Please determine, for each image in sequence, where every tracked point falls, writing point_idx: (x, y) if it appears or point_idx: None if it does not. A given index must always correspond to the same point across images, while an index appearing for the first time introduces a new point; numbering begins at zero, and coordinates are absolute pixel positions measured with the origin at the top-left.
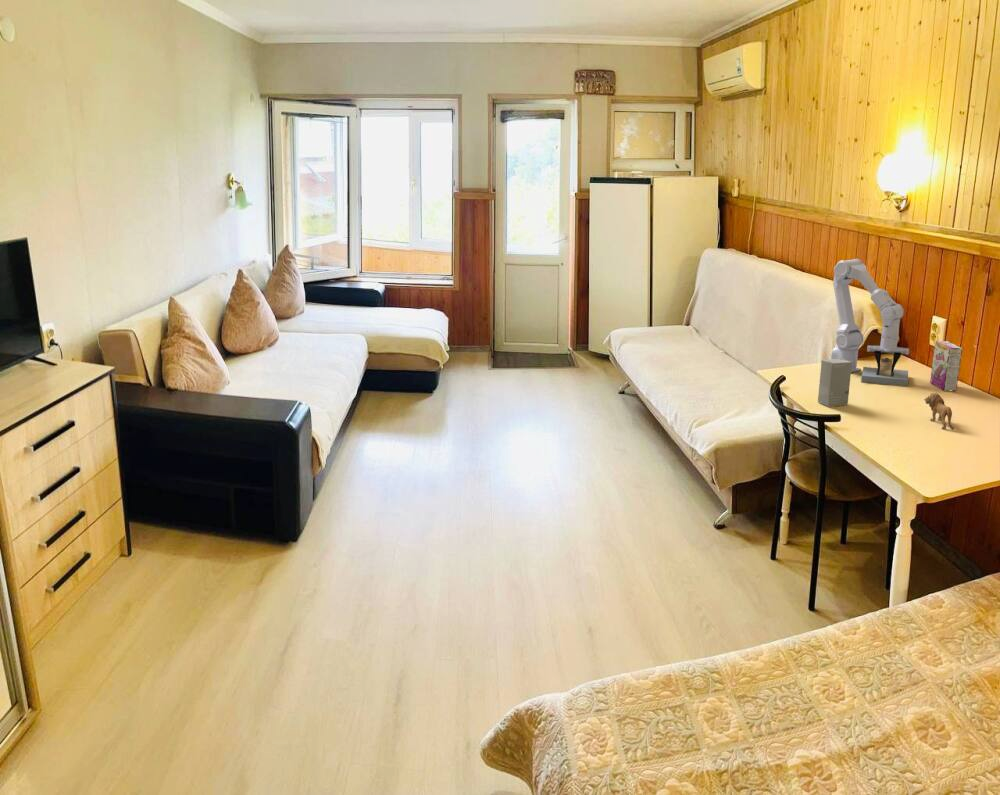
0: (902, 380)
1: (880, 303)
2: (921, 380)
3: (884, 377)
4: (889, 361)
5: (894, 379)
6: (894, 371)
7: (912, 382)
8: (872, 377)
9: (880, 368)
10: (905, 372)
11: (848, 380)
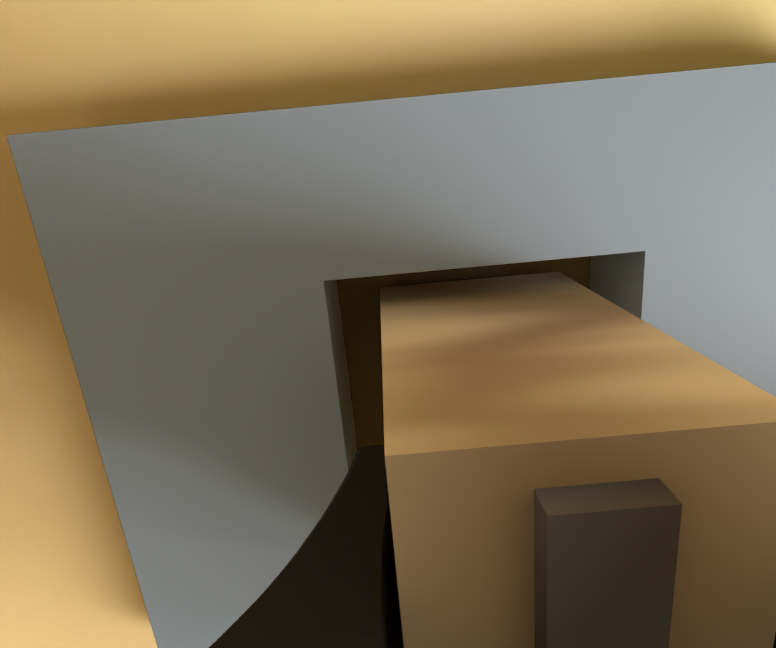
0: (127, 129)
1: None
2: (11, 557)
3: (483, 119)
4: (495, 583)
5: (280, 114)
6: None
7: (83, 413)
8: (716, 70)
9: (648, 333)
10: (190, 622)
11: None
